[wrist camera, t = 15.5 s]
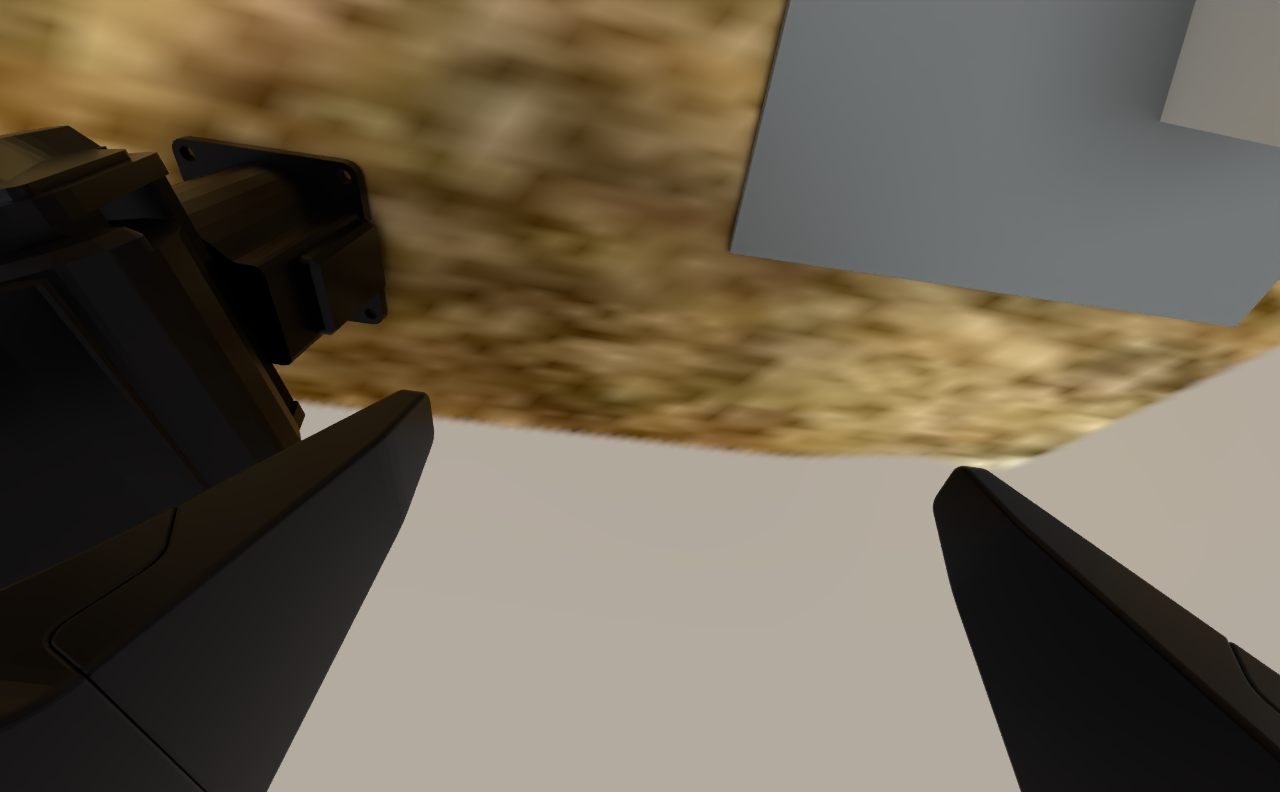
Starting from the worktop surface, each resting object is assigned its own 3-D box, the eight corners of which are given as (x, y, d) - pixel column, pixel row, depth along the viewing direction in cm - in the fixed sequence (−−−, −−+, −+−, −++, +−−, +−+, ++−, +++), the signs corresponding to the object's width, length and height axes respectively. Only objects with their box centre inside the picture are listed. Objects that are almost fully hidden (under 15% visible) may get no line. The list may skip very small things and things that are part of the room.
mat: (729, 248, 20) (730, 253, 20) (870, -348, 12) (877, -362, 11) (1224, 321, 21) (1235, 327, 20) (1688, -197, 12) (1722, -204, 12)
